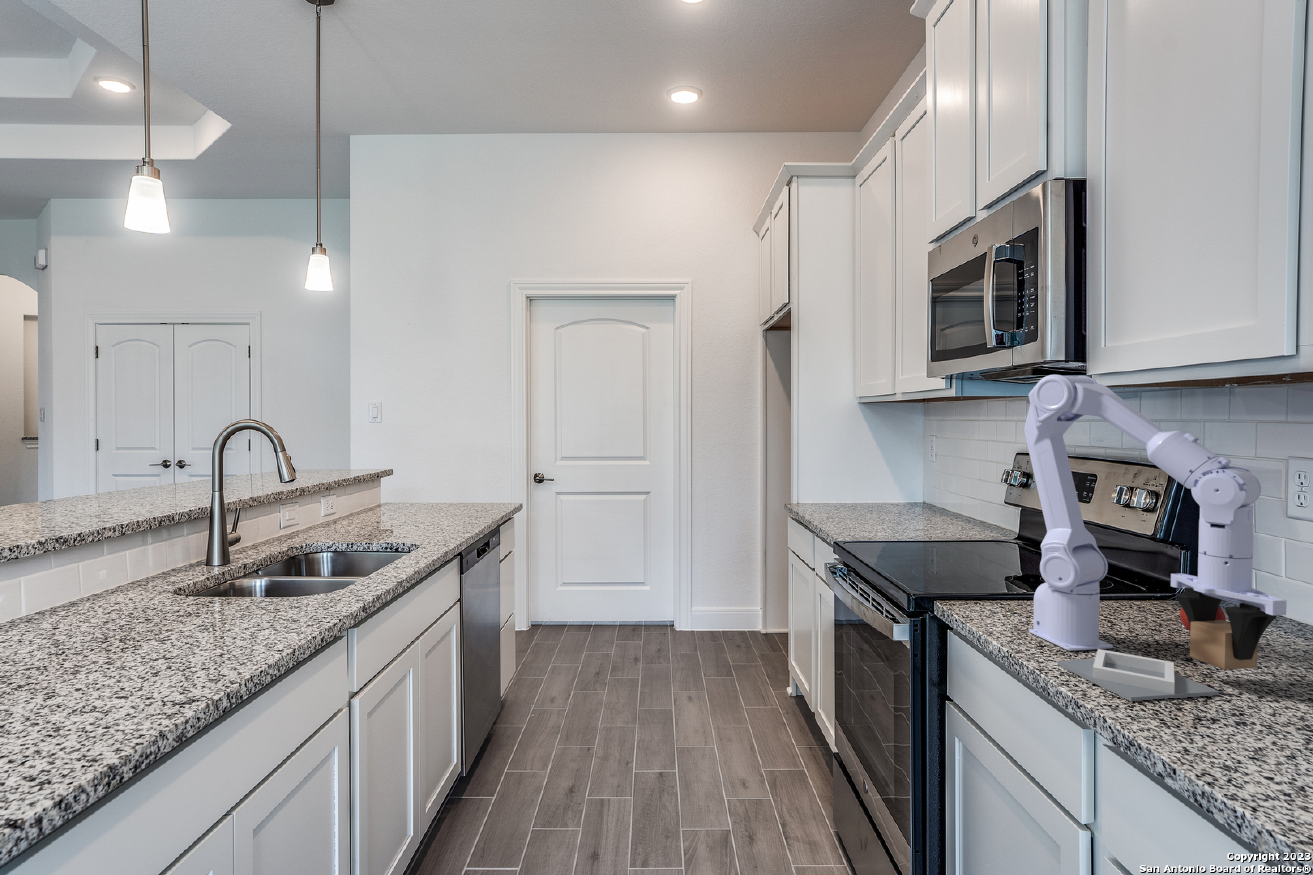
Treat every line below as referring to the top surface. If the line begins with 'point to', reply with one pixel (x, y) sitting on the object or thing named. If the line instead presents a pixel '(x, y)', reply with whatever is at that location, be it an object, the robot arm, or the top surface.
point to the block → (1216, 645)
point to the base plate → (1137, 691)
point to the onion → (1184, 620)
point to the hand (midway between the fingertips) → (1222, 651)
